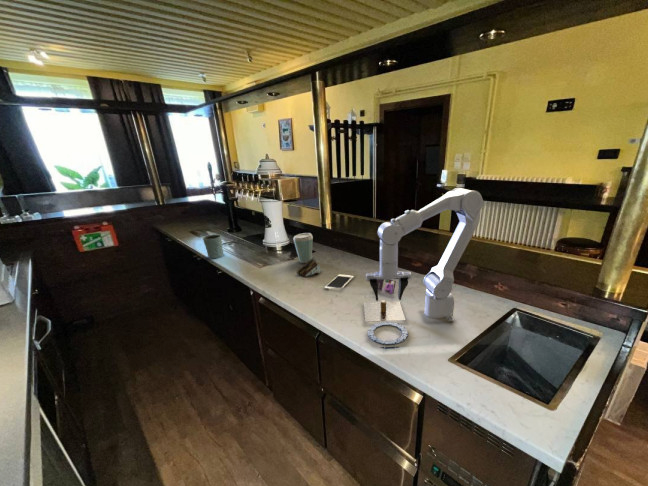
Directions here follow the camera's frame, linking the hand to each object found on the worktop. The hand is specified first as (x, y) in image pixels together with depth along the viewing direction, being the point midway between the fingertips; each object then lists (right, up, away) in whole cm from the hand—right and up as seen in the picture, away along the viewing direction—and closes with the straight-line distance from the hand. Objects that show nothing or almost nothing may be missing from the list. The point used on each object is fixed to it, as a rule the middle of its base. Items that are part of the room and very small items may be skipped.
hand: (388, 299), depth 101 cm
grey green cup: (-94, +23, +81) cm, 127 cm away
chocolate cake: (-33, +11, +49) cm, 60 cm away
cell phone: (-18, +6, +37) cm, 41 cm away
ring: (-1, -12, -4) cm, 13 cm away
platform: (-1, -6, +9) cm, 11 cm away
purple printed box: (+2, +2, +26) cm, 26 cm away
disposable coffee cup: (-38, +19, +66) cm, 78 cm away
